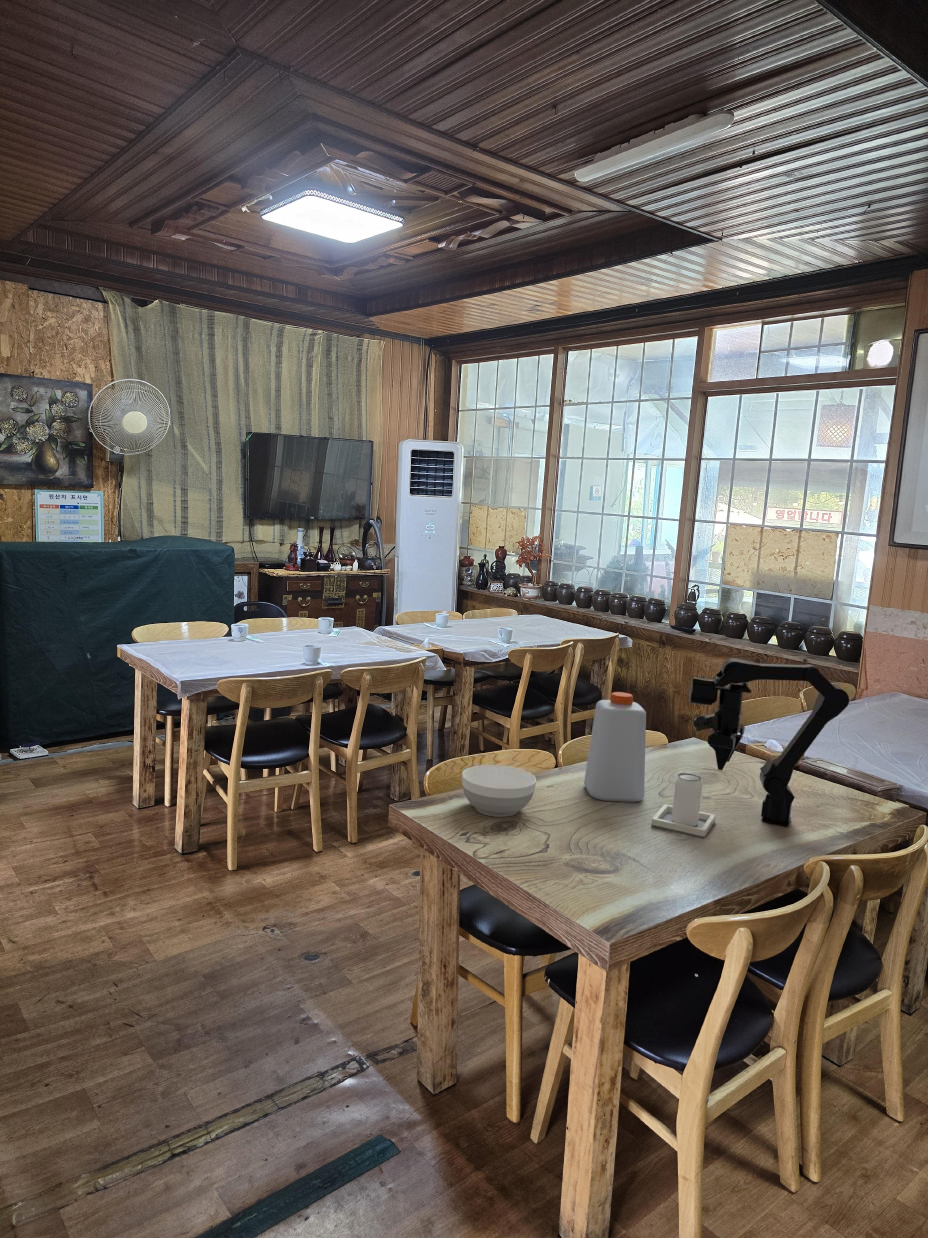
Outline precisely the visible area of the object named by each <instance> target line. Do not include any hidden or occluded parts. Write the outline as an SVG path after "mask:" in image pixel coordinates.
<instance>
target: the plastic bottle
mask: <svg viewBox="0 0 928 1238" xmlns="http://www.w3.org/2000/svg"><path fill="white" fill-rule="evenodd" d="M591 731H592V732H591V736H590V743H589V747H588V749H589V750H588V755H587V762H586V766H585V767H586V769H585V774H584V781H583V784H584V786H585V789H586V790H587V792H588V794H589V796H591V797H592V798H594V799H596V800H599V801H605V802H625V803H637V802H640V801H642V800H643V799H644V797H645V783H646V782H645V774H646V739H647V738H646V736H647V734H646V733H647V732H646V731H647V712H646V710H645V709H644V707H642V706H641V705H640V704H639V703H637V702H635V701H634V696H633V694H631V693H629V692H628V693H627V692H623V691H614V692H611V694H610V699H601V700H599V701H597V702H596V705H595V710H594V716H593V724H592V730H591Z"/></svg>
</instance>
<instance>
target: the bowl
mask: <svg viewBox="0 0 928 1238" xmlns="http://www.w3.org/2000/svg"><path fill="white" fill-rule="evenodd" d="M461 784H462V790H463V794H464V797H466V799H467V802H469V804H470V805H472V806H473V807H474V808H475V810H476V811H477V812H479V813H480V814H482V815H485V816H489V817H497V818H505V817H511V816H514V815H516V814H518V812H519V811H521V810H523V809H524V808H525V807H527V805H528V804H529V803H530V802H531V800H532V799H533V795H534V793H535V790H536V784H537V778H536V776H535V775H534V774H533V773H531V772H530V771H528V770H525V769H522V768H520V767H519V768H518V767H514V766H511V765H510V766H508V765H501V764H480V765H473V766H470V767H467V768H465V769H464V770H463V771H462V773H461Z"/></svg>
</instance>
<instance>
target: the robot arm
mask: <svg viewBox="0 0 928 1238" xmlns="http://www.w3.org/2000/svg"><path fill="white" fill-rule="evenodd" d="M691 678H692V679H691V683H690V687H689V695H688V696H689V697H688V702H689V704H695V705H704V706H712V705H713V704H715V703H717V700H718V705H717V706H718V707H717V710H716V711H714V713H710V714H702V715H697V716H695V718H694V719H693V727H695V731H696V732H701V731H703V730H709V729H710V730H711V729H712V732H711V733H710V734H709V735H708V736H707V744H708V746H709V747H711V748H712V749H713V750H714V752H715V760H716V766H717V770H718V771H723V770H724V768H725V766H726V764H727V763H729V762H730V761H731V758H732V757H733V755H734V754H735V751H736V749H737V747H738V745H739V743H740V742H741V740H742V739H743V735H745V730H746V727H745V725H744V724H743V722H741V717H742V716H743V711H742V708H743V707H742V705H743V698H744V697H743V695H744V693H747V694H751V693H752V689H751V688H750V687H749V686H748V685H747V683H749V682H754V681H759V680H760V681H762V680H763V681H765V680H767V681H768V680H769V681H789V682H791V681H792V682H793V681H795V682H808V683H809V685H811V686H812V687H813V688H814V689H815V690H816V691H817V692H818V695H817V697H816V699H815V700H814V704H813V708H812V711H811V713H810V714H809V716H808V717H807V718H806V720H805V721H804V722H803V723H802V725H801V726H800V728H799V729H798V730H797V732H796V733H795V735H794V736H793V737H792V739H791V740H790V742H789V743H788V744H787V745H786V747H785V748H784V749H783V751H782V752H781V754H780V755H779V756H777V757H776V758H774V759H773V758H771V756H769V757H768V758H767V759H766V762H765V763H764V765H762V766H761V767H760V768H759V770H760V773H759V781H760V783H761V785H762V787H763V789H764V790H765V791H766V794H765V798H764V799H763V801H762V806H761V811H760V812H761V813H760V816H761V818H762V819H761V821H762V822H765V823H768V824H769V823H770V824H774V825H779V826H783V827H789V826H790V823H791V821H792V817H791V814H792V807H793V806H792V805H793V801H795V800H794V799H795V795H794V793H793V792H792V790H791V788H790V787H789V783H790V781H791V778H792V775H793V772H794V769H795V766H796V765H797V764H798V763H799V762H800V760H801V759H802V758H803V756H804V755H805V754H806V752H807V750H808V749H809V748H810V747H811V745H812V744H813V743H814V741H815V740H816V738H817V737H818V736H819V734H820V733H821V732H822V730H823V729H824V728H825V726H826V725H827V724H828V723H829V722H830V721H832V720H833V719H835V718H836V717H838V716H839V715H840V714H841V713H842V712H843V711H845V710H846V708H848V706H849V704H850V697H849V695H848V693H847V692H846V690H844V689H843V688H842V687H841V686H839V685H837V684H833V683H831V682H830V681H829V680H828V679H827V678H826V677H825V676H824V675H823V674H822V673H821V672H820V670H819V669H818V667H816V666H815V665H814V664H811V663H809V664H784V663H782V664H781V663H778V664H777V663H758V662H753V661H751V660H747V659H741V658H736V657H729V658H727V659H725V660H724V661H723V662H722V665H721V668H720V670H719V671H718V672H717V673H716V674H715V675H714V676H713V678H711V679H708V678H700V677H695V676H693V677H691ZM718 691H719V692H718ZM718 694H719V695H718Z"/></svg>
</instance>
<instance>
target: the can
mask: <svg viewBox="0 0 928 1238" xmlns="http://www.w3.org/2000/svg"><path fill="white" fill-rule="evenodd" d="M701 779H702V777H701V776H699V775H697V774H694V773H689V772H680V773H678V774H677V778H676V779H675V783H674V791H673V792H674V793H673V803H672V806H673V811H672V821H673V822H675V823H679V824H684V825H688V826H693V827H694V826H696V825H697V824H698V820H699V811H700V810H701V809H700V808H701V798H702V789H703V783H702V780H701Z"/></svg>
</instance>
